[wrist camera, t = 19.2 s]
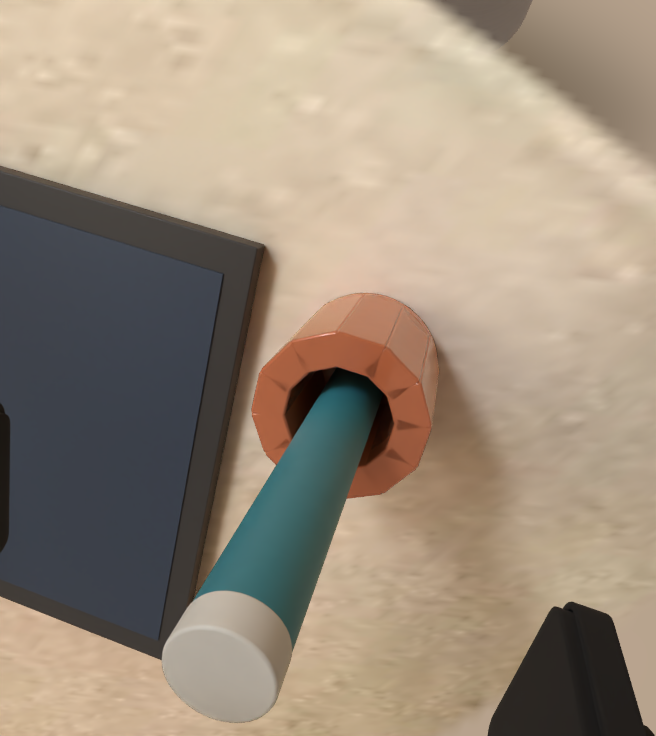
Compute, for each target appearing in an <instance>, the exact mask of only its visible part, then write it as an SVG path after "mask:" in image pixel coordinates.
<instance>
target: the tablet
mask: <svg viewBox="0 0 656 736" xmlns="http://www.w3.org/2000/svg"><path fill="white" fill-rule="evenodd" d="M264 247H265V246H264V244H260V243H257V242H254V241H250V240H247V239H244V238H240V237H237V236H234V235H230V234H227V233H224V232H220V231H217V230H213V229H210V228H207V227H203V226H200V225H197V224H193V223H190V222H187V221H183V220H180V219H177V218H173V217H170V216H167V215H163V214H160V213H156V212H153V211H150V210H146V209H143V208H140V207H136V206H133V205H130V204H126V203H123V202H120V201H116V200H113V199H110V198H106V197H103V196H99V195H96V194H93V193H89V192H86V191H83V190H79V189H76V188H73V187H69V186H66V185H63V184H59V183H56V182H53V181H49V180H46V179H42V178H39V177H36V176H32V175H29V174H26V173H22V172H19V171H16V170H12V169H9V168H6V167H2V166H0V404H2V406H3V407H4V410H5V414H7V415H8V416H9V418H10V495H9V537H8V540H7V543H6V545H5V547H4V549H3V550H2V551H1V553H0V596H1V597H3V598H6V599H8V600H11V601H13V602H16V603H18V604H21V605H23V606H26V607H29V608H31V609H34V610H36V611H39V612H41V613H44V614H46V615H49V616H51V617H54V618H56V619H59V620H61V621H64V622H67V623H69V624H72V625H74V626H77V627H79V628H82V629H84V630H87V631H89V632H92V633H94V634H97V635H99V636H102V637H104V638H107V639H110V640H112V641H115V642H117V643H120V644H122V645H125V646H127V647H130V648H132V649H135V650H137V651H140V652H142V653H145V654H148V655H150V656H153V657H155V658H158V659H160V660H162V652H163V648H164V645H165V643H166V641H167V640H168V638H169V636H170V635H171V633H172V631H173V630H174V628H175V627H176V625H177V623H178V622H179V620H180V619H181V617H182V615H183V614H184V612H185V610H186V609H187V607H188V606H189V605H190V604H191V603H192V601H193V597H194V592H195V588H196V583H197V578H198V573H199V568H200V563H201V558H202V553H203V548H204V543H205V538H206V533H207V528H208V523H209V518H210V513H211V508H212V504H213V499H214V494H215V489H216V484H217V479H218V474H219V469H220V464H221V459H222V454H223V449H224V444H225V439H226V434H227V429H228V424H229V420H230V415H231V410H232V405H233V400H234V395H235V390H236V385H237V380H238V375H239V370H240V365H241V360H242V355H243V350H244V345H245V340H246V336H247V331H248V326H249V321H250V316H251V311H252V306H253V301H254V296H255V291H256V286H257V281H258V276H259V271H260V266H261V261H262V256H263V252H264Z"/></svg>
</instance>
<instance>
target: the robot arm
mask: <svg viewBox="0 0 656 736" xmlns="http://www.w3.org/2000/svg"><path fill="white" fill-rule="evenodd" d="M9 495H10V418H9V416H8V415H7V414H5V410H4V407H3V406H2V404H0V553H1V551H2V550H3V549H4V547H5V545H6V543H7V540H8V537H9ZM488 736H654V734H653V733H652V731H651V730H650V729H649V728H648V727H647V726H645V725H643V722H642V718H641V715H640V711H639V708H638V705H637V701H636V698H635V695H634V691H633V688H632V684H631V681H630V677H629V674H628V670H627V667H626V664H625V660H624V657H623V653H622V650H621V647H620V643H619V640H618V636H617V633H616V629H615V626H614V623H613V620H612V618H611V617H610V616H609V615H608V614H606V613H603V612H600V611H597V610H594V609H592V608H589V607H586V606H583V605H580V604H577V603H574V602H568V603H567V604H566V605H565V606H564V608H563V609H562V608H559V607H553V608H552V609H551V610H550V612H549V613H548V615H547V617H546V619H545V621H544V623H543V624H542V626H541V628H540V630H539V632H538V634H537V635H536V637H535V639H534V641H533V643H532V645H531V646H530V648H529V650H528V652H527V654H526V656H525V657H524V659H523V661H522V663H521V665H520V667H519V669H518V670H517V672H516V674H515V676H514V678H513V680H512V681H511V683H510V685H509V687H508V689H507V691H506V692H505V694H504V696H503V698H502V700H501V702H500V703H499V705H498V707H497V709H496V711H495V713H494V715H493V717H492V719H491V722H490V725H489V730H488Z"/></svg>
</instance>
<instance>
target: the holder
mask: <svg viewBox="0 0 656 736" xmlns="http://www.w3.org/2000/svg"><path fill="white" fill-rule="evenodd" d="M337 367H339V368H342V369H345V370H348V371H351V372H354V373H358V374H361V375H364V376H367V377H368V378H369V379H370V380H371V381H372V382H373V383H374V384H375V385H376V386H377V387H378V388H379V389H380V390H381V391H382V392H383V393H384V394H383V397H382V399H381V402H380V405H379V408H378V411H377V414H376V416H375V419H374V422H373V425H372V428H371V431H370V433H369V436H368V439H367V442H366V445H365V448H364V450H363V453H362V456H361V459H360V462H359V465H358V467H357V470H356V473H355V476H354V479H353V482H352V484H351V487H350V490H349V493H348V496H347V499H348V498H356V497H364V496H372V495H380V494H382V493H385V492H386V491H388V490H389V489H390V488H392V487H393V486H394V485H396V484H397V483H398V482H400V481H401V480H402V479H404V478H405V477H406V476H408V475H409V474H410V473H412V472H413V471H414V470H416V468H417V467H418V466H419V463H420V460H421V457H422V454H423V452H424V449H425V446H426V443H427V441H428V438H429V435H430V432H431V429H432V422H433V415H434V407H435V400H436V392H437V385H438V377H439V367H438V357H437V351H436V346H435V343H434V340H433V338H432V335H431V333H430V331H429V330H428V328H427V326H426V325H425V323H424V322H423V321H422V320H421V319H420V317H419V316H418V315H417V314H416V313H414V312H413V311H412V310H411V309H410V308H408V307H407V306H406V305H404V304H402V303H401V302H399V301H397V300H395V299H392V298H389V297H387V296H383V295H379V294H372V293H356V294H350V295H346V296H343V297H339V298H337V299H335V300H333V301H331V302H328V303H327V304H325V305H324V306H323V307H322V308H321V309H320V310H318V311H317V312H316V313H315V314H314V315H313V316H312V317H311V318H310V319H309V320H308V321H307V322H306V323H305V324H304V325H303V326H302V327H301V328H300V329H299V330H298V331H297V332H296V334H295V335H294V336H293V337H292V338H291V339H290V340H289V341H288V342H287V343H286V344H285V345H284V346H283V347H282V348H281V349H280V350H279V351H278V352H277V353H276V354H275V355H274V356H273V357H272V359H271V360H270V361H269V362H268V363H267V364H266V365H265V366H264V367H263V368H262V370H261V372H260V373H259V377H258V381H257V386H256V390H255V395H254V400H253V404H252V409H251V410H252V417H253V420H254V423H255V426H256V429H257V432H258V435H259V438H260V441H261V444H262V447H263V450H264V452H266V455H267V456H268V457H269V458H270V459H271V460H272V461H273V462H274V463H275V464H276V465H277V463H278V462H279V460H280V459H281V457H282V455H283V454H284V452H285V450H286V449H287V447H288V446H289V444H290V442H291V441H292V439H293V437H294V436H295V434H296V433H297V431H298V429H299V428H300V426H301V424H302V423H303V421H304V420H305V418H306V416H307V415H308V413H309V411H310V410H311V408H312V407H313V405H314V403H315V402H316V400H317V398H318V397H319V395H320V394H321V392H322V390H323V389H324V387H325V385H326V384H327V382H328V381H329V379H330V377H331V376H332V374H333V372H334V371H335V369H336V368H337Z"/></svg>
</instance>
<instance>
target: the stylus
mask: <svg viewBox="0 0 656 736" xmlns="http://www.w3.org/2000/svg"><path fill="white" fill-rule="evenodd" d="M383 394H384V393H383V392H382V391H381V390H380V389H379V388H378V387H377V386H376V385H375V384H374V383H373V382H372V381H371V380H370V379H369V378H368V377H367V376H364V375H361V374H358V373H354V372H351V371H348V370H345V369H342V368H339V367H337V368H336V369H335V371H334V372H333V374H332V376H331V377H330V379H329V381H328V382H327V384H326V385H325V387H324V389H323V390H322V392H321V394H320V395H319V397H318V398H317V400H316V402H315V403H314V405H313V407H312V408H311V410H310V411H309V413H308V415H307V416H306V418H305V420H304V421H303V423H302V424H301V426H300V428H299V429H298V431H297V433H296V434H295V436H294V437H293V439H292V441H291V442H290V444H289V446H288V447H287V449H286V450H285V452H284V454H283V455H282V457H281V459H280V460H279V462H278V463H277V465H276V467H275V468H274V470H273V472H272V473H271V475H270V476H269V478H268V480H267V481H266V483H265V485H264V486H263V488H262V489H261V491H260V493H259V494H258V496H257V498H256V499H255V501H254V502H253V504H252V506H251V507H250V509H249V511H248V512H247V514H246V515H245V517H244V519H243V520H242V522H241V524H240V525H239V527H238V528H237V530H236V532H235V533H234V535H233V537H232V538H231V540H230V541H229V543H228V545H227V546H226V548H225V550H224V551H223V553H222V554H221V556H220V558H219V559H218V561H217V563H216V564H215V566H214V567H213V569H212V571H211V572H210V574H209V576H208V577H207V579H206V580H205V582H204V584H203V585H202V587H201V589H200V590H199V592H198V593H197V595H196V597H195V598H194V600H193V601H192V603H191V604H190V605H189V606H188V607H187V609H186V610H185V612H184V614H183V615H182V617H181V619H180V620H179V622H178V623H177V625H176V627H175V628H174V630H173V631H172V633H171V635H170V636H169V638H168V640H167V641H166V643H165V645H164V648H163V652H162V668H163V672H164V675H165V678H166V680H167V682H168V684H169V685H170V687H171V688H172V690H173V691H174V692H175V694H176V695H177V696H178V697H179V698H180V699H181V700H182V701H183V702H184V703H186V704H187V705H188V706H189V707H191V708H192V709H194V710H195V711H197V712H199V713H201V714H203V715H205V716H207V717H209V718H212V719H215V720H219V721H223V722H229V723H244V722H250V721H253V720H256V719H258V718H260V717H262V716H263V715H265V714H266V713H267V712H268V711H269V710H270V709H271V708H272V707H273V706H274V704H275V703H276V700H277V698H278V695H279V692H280V689H281V687H282V684H283V681H284V678H285V675H286V672H287V669H288V667H289V664H290V661H291V657H292V651H293V649H294V646H295V643H296V640H297V637H298V634H299V632H300V629H301V626H302V623H303V620H304V617H305V615H306V612H307V609H308V606H309V603H310V600H311V598H312V595H313V592H314V589H315V586H316V583H317V581H318V578H319V575H320V572H321V569H322V566H323V564H324V561H325V558H326V555H327V552H328V549H329V547H330V544H331V541H332V538H333V535H334V532H335V530H336V527H337V524H338V521H339V518H340V516H341V513H342V510H343V507H344V504H345V501H346V499H347V496H348V493H349V490H350V487H351V484H352V482H353V479H354V476H355V473H356V470H357V467H358V465H359V462H360V459H361V456H362V453H363V450H364V448H365V445H366V442H367V439H368V436H369V433H370V431H371V428H372V425H373V422H374V419H375V416H376V414H377V411H378V408H379V405H380V402H381V399H382V397H383Z"/></svg>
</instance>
